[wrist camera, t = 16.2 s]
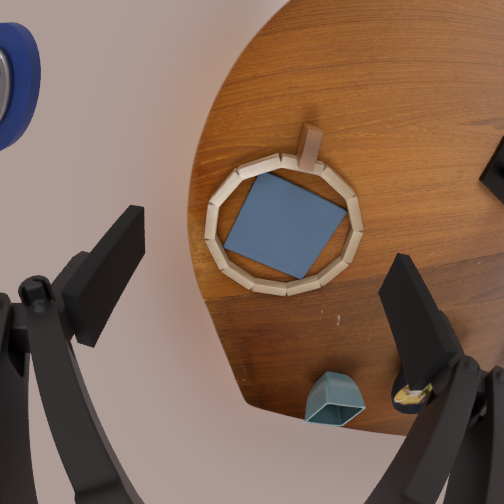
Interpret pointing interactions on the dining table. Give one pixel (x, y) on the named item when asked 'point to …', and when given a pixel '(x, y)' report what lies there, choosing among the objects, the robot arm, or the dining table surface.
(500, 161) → the post on square base
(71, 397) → the robot arm
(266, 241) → the mat
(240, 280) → the segmented ring with tab
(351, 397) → the flower pot
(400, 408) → the bowl
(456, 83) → the dining table surface
